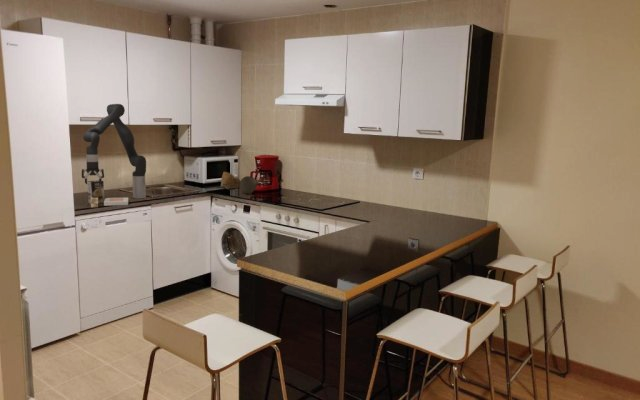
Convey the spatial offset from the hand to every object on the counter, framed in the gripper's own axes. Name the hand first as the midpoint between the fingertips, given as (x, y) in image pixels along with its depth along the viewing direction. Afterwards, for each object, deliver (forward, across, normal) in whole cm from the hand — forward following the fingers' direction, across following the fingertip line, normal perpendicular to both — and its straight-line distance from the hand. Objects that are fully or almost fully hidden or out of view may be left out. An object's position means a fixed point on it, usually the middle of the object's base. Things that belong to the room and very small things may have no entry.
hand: (93, 183), depth 340 cm
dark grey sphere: (+15, -117, -33) cm, 123 cm away
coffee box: (+16, 0, -14) cm, 21 cm away
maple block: (+16, 0, 0) cm, 16 cm away
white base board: (+16, -14, -10) cm, 24 cm away
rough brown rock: (+15, -108, -64) cm, 127 cm away
